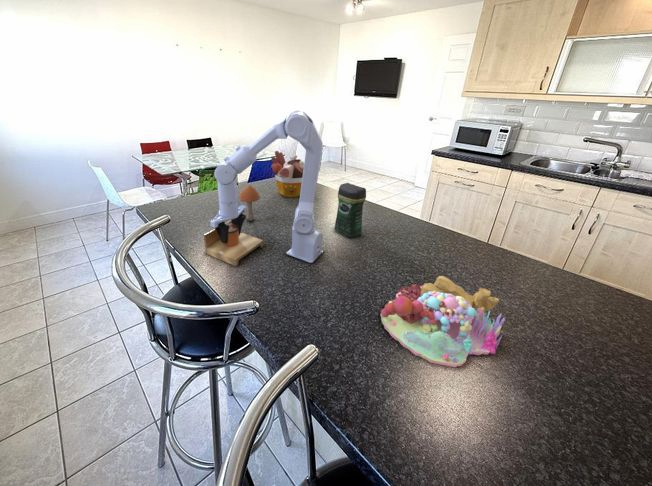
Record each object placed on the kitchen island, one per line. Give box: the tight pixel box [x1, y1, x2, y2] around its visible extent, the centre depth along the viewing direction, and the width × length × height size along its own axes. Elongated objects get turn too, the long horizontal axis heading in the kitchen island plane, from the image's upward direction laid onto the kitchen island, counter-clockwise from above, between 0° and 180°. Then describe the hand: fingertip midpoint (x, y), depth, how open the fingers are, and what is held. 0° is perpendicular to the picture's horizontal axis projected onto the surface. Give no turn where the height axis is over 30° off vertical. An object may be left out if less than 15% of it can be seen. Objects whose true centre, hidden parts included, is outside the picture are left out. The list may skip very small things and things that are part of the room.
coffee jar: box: [334, 182, 367, 238], centre depth 106 cm, size 10×8×19 cm
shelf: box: [203, 220, 264, 267], centre depth 96 cm, size 13×14×7 cm
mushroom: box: [238, 184, 261, 222], centre depth 114 cm, size 8×8×15 cm
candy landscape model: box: [380, 275, 506, 368], centre depth 68 cm, size 25×24×9 cm
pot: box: [223, 224, 239, 246], centre depth 96 cm, size 6×6×6 cm
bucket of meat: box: [270, 150, 305, 198], centre depth 142 cm, size 20×16×20 cm
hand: (230, 238), depth 96 cm, fingers closed on pot, 5 cm apart
